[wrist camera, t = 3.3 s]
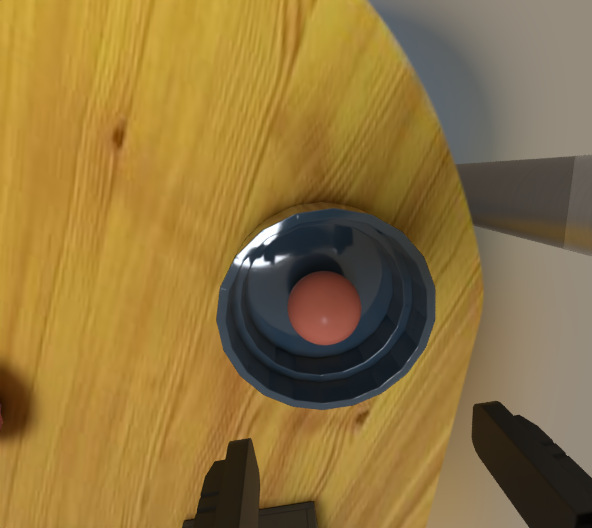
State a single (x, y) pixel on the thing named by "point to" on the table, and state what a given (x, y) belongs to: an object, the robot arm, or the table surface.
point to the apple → (0, 418)
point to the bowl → (365, 278)
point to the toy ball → (324, 308)
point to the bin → (283, 517)
